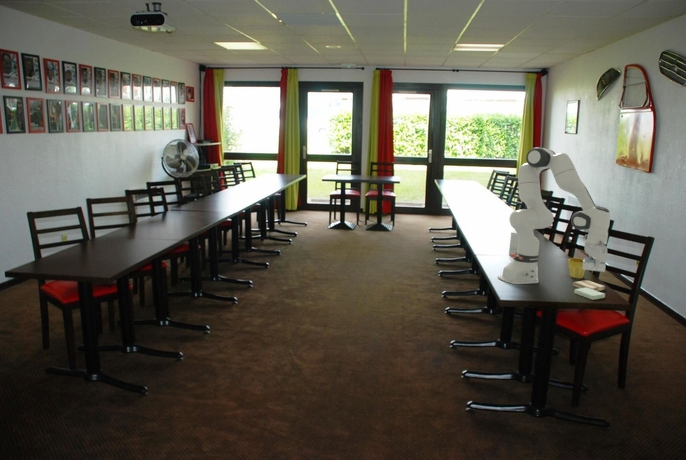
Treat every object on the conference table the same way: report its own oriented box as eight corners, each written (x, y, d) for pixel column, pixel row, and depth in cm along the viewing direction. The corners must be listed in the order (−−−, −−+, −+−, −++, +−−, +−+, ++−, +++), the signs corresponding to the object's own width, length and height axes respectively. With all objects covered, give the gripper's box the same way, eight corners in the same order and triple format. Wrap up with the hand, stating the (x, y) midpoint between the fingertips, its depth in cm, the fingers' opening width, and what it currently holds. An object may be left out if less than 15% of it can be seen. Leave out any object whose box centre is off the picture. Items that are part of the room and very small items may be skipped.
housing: (582, 269, 272) (584, 259, 271) (582, 267, 276) (583, 257, 275) (604, 271, 269) (606, 261, 268) (603, 269, 273) (605, 259, 272)
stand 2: (592, 299, 269) (593, 295, 268) (574, 293, 278) (574, 289, 278) (604, 297, 273) (605, 293, 273) (585, 291, 283) (586, 287, 282)
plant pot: (563, 276, 308) (565, 259, 306) (569, 273, 315) (572, 256, 313) (582, 280, 301) (584, 263, 299) (588, 277, 309) (590, 260, 307)
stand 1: (590, 292, 281) (591, 288, 281) (572, 285, 291) (573, 282, 290) (604, 289, 286) (605, 286, 286) (586, 283, 296) (587, 280, 295)
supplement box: (526, 254, 355) (528, 232, 352) (522, 257, 348) (525, 234, 344) (512, 252, 360) (514, 230, 357) (508, 254, 352) (510, 232, 349)
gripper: (612, 244, 259) (608, 272, 262) (596, 235, 279) (592, 261, 282) (598, 243, 260) (594, 271, 263) (583, 234, 280) (580, 260, 283)
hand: (593, 266), depth 272 cm, fingers closed on housing, 5 cm apart
